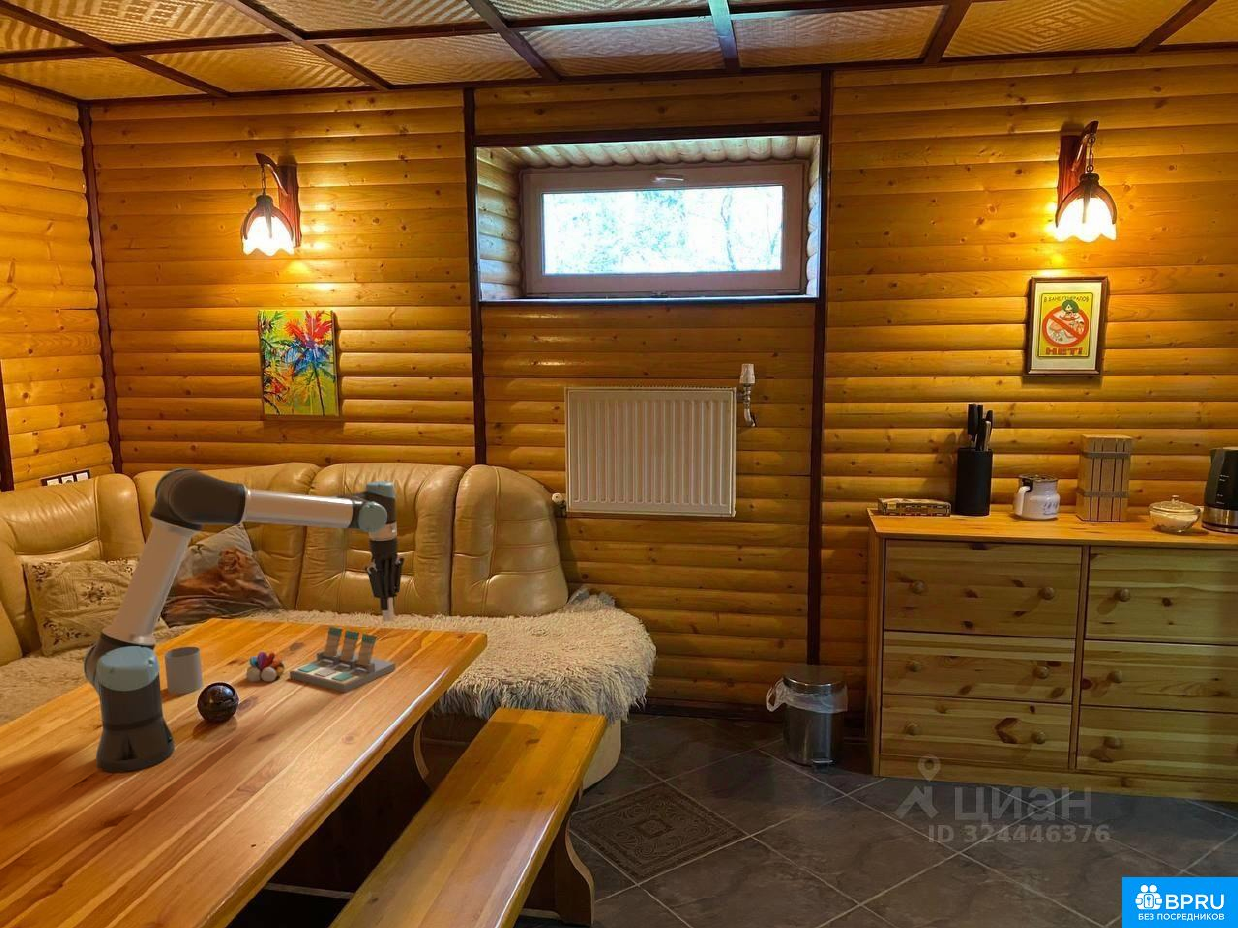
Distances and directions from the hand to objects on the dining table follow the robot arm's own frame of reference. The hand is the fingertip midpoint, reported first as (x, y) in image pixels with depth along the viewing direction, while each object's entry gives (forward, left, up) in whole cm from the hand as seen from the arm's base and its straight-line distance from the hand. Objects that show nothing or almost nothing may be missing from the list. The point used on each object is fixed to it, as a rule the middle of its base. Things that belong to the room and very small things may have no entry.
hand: (388, 619), depth 243 cm
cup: (-38, +36, -13) cm, 54 cm away
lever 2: (-10, +7, -10) cm, 16 cm away
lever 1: (-10, +13, -10) cm, 19 cm away
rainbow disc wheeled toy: (-23, +23, -13) cm, 36 cm away
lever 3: (-10, 0, -10) cm, 14 cm away
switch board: (-11, +7, -13) cm, 18 cm away
